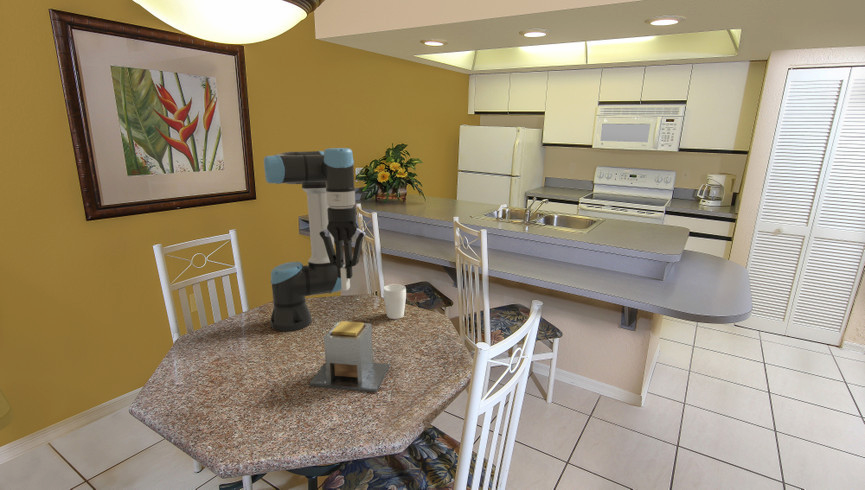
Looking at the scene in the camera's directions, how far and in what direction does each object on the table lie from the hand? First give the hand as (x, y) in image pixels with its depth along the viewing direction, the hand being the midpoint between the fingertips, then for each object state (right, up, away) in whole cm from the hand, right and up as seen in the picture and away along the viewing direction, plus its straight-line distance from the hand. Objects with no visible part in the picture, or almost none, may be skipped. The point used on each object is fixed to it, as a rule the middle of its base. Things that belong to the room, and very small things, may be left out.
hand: (345, 288), depth 121 cm
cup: (+10, -16, +50) cm, 54 cm away
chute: (0, -27, +6) cm, 28 cm away
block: (0, -25, +6) cm, 26 cm away
